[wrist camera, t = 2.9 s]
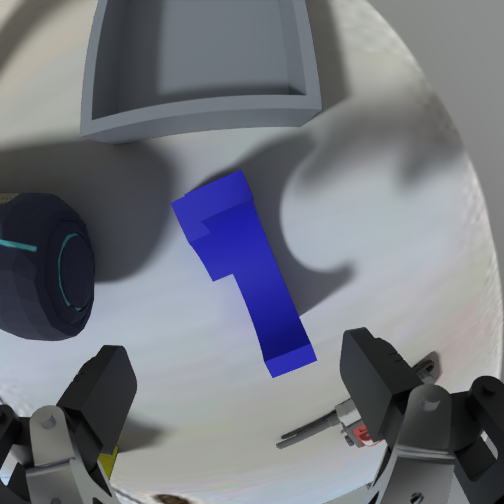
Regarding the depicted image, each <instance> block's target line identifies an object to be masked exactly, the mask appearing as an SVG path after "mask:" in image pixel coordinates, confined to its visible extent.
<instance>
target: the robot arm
mask: <svg viewBox="0 0 504 504" xmlns="http://www.w3.org/2000/svg"><path fill="white" fill-rule="evenodd" d="M340 374H341V378H342V380H343V382H344V384H345V386H346V388H347V390H348V392H349V394H350V396H351V398H352V400H353V402H354V404H355V406H356V408H357V410H358V412H359V414H360V416H361V418H362V420H363V422H364V424H365V426H366V428H367V431H368V433H369V435H370V437H371V439H372V441H373V443H375V442H378V441H381V440H384V439H385V440H386V442H387V444H388V445H387V447H386V449H385V452H384V454H383V457H382V460H381V463H380V465H379V468H378V470H377V473H376V475H375V478H374V480H373V482H372V485H371V487H370V489H369V491H368V493H367V495H366V497H365V499H364V500H363V502H362V504H447V501H448V497H449V493H450V488H451V483H452V478H453V472H454V473H455V475H456V477H457V479H458V481H459V483H460V485H461V487H462V489H463V491H464V493H465V495H466V497H467V499H468V501H469V503H470V504H504V384H503V383H502V382H501V381H500V380H499V379H497V378H495V377H492V376H481V377H478V378H477V379H475V380H474V382H473V384H472V386H471V388H470V390H469V391H464V392H459V393H452V394H449V392H448V391H447V390H446V389H444V388H443V387H441V386H438V385H434V384H424V383H423V381H422V380H421V379H420V378H419V377H418V375H417V374H416V373H415V372H414V371H413V369H412V368H411V367H410V366H409V365H408V364H407V362H406V361H405V360H403V358H402V357H401V355H400V354H398V353H397V351H396V350H395V348H394V347H393V346H392V345H391V344H390V343H388V342H387V341H385V340H383V339H381V338H374V337H373V335H372V334H371V333H370V332H369V331H368V329H367V328H365V327H362V328H357V329H351V330H346V331H345V332H344V334H343V342H342V350H341V358H340ZM136 391H137V380H136V376H135V374H134V371H133V369H132V366H131V363H130V360H129V358H128V355H127V352H126V350H125V348H124V347H123V346H116V345H104V346H103V347H102V348H101V349H100V351H99V352H98V354H97V355H96V356H95V357H93V358H91V359H90V360H89V361H87V362H86V363H85V364H84V365H83V366H82V367H81V369H80V370H79V372H78V374H77V375H76V376H75V377H74V379H73V381H72V382H71V383H70V385H69V386H68V388H67V389H66V391H65V392H64V394H63V395H62V397H61V398H60V400H59V401H58V403H57V404H56V406H54V405H47V406H43V407H41V408H39V409H37V410H36V411H35V412H34V413H33V414H32V416H31V417H18V416H17V415H16V414H15V412H14V411H13V409H12V408H11V407H10V406H8V405H4V404H3V405H0V469H1V467H2V465H3V463H4V461H5V459H6V457H7V455H8V453H9V452H10V453H11V454H12V455H13V457H14V458H15V459H16V460H17V461H18V462H17V464H16V467H15V469H14V471H13V473H12V475H11V478H10V480H9V482H8V485H7V486H6V485H4V484H3V482H2V481H1V479H0V504H121V503H120V502H119V500H118V498H117V496H116V494H115V492H114V490H113V488H112V486H111V484H110V482H109V480H108V478H107V476H106V474H105V472H104V469H103V467H102V465H101V463H100V461H99V460H98V457H99V454H100V453H101V454H106V455H110V456H112V455H113V452H114V449H115V446H116V444H117V441H118V438H119V435H120V433H121V430H122V427H123V425H124V422H125V420H126V417H127V414H128V412H129V409H130V407H131V404H132V402H133V399H134V397H135V394H136ZM483 431H485V432H486V434H487V435H488V437H489V438H490V439H491V441H492V442H493V444H494V445H495V447H496V448H497V451H498V458H497V460H496V458H495V457H494V455H493V454H492V452H491V451H490V449H489V448H488V446H487V445H486V443H485V442H484V440H483V439H482V437H481V434H482V433H483Z"/></svg>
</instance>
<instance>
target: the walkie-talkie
mask: <svg viewBox="0 0 504 504" xmlns="http://www.w3.org/2000/svg"><path fill="white" fill-rule="evenodd" d="M433 368H434V362H432V360H428V361H426V362H424V363H423V364H422V365H418V366H416V367H415V368H413V371H414V372H415V373H416V374H417V375H418V377H419V378H420V379H421V380H422V381H423V383H424V384H434V380H433V377H432V376H431V375H430V374H429V372H430V371H431V370H432V369H433ZM335 409H336V411H337V412H336V413H335V414H333V415H331V416H329V417H328V418H327V419H326V420H324V421H322V422H320V423H318V424H316V425H314V426H312V427H310V428H308V429H306V430H304V431H301V432H299V433H297V435H296V436H294V437H292V438H289V439H287V440H285V441H282V442H280V443H278V444H276V446H277V448H279V449H282V448H285V447H287V446H290V445H292V444H294V443H297V442H299V441H301V440H303V439H306V438H308V437H310V436H312V435H314V434H316V433H318V432H320V431H322V430H324V429H326V428H328V427H330V426H335V425H337V426H338V427H341V426H343V428H344V430H342V431H341V433H342V435H343V436H344V437H345V439H346V441H347V443H348V444H349V446H353V445H354V443H355V444H356V446H357V447H358V448H359V447H363V446H365V445H366V446H374V445H376V444H377V443H379V442H381V441H382V440H381V441H378V442H375V443H373V441H372V439H371V437H370V435H369V433H368V431H367V428H366V426H365V424H364V422H363V420H362V418H361V416H360V414H359V412H358V410H357V408H356V406H355V404H354V402H353V400H352V398H351V399H350V400H348V401H346V402H344V403H343V404H339V405H338V406H336V407H335Z"/></svg>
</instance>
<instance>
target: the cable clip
mask: <svg viewBox="0 0 504 504" xmlns="http://www.w3.org/2000/svg"><path fill="white" fill-rule="evenodd" d="M171 205H172V207H173V210H174V212H175V214H176V216H177V219H178V221H179V223H180V225H181V227H182V230H183V232H184V234H185V236H186V238H187V240H188V242H189V244H190V245H191V246H192V247H193V249H194V250H195V251H196V253H197V254H198V256H199V257H200V259H201V261H202V262H203V264H204V266H205V267H206V269H207V271H208V273H209V275H210V277H211V279H212V281H216V280H218V279H221V278H223V277H225V276H228V275H230V274H233V275H234V277H235V279H236V282H237V284H238V286H239V288H240V291H241V293H242V296H243V298H244V300H245V303H246V306H247V308H248V311H249V313H250V316H251V319H252V322H253V324H254V327H255V330H256V333H257V336H258V340H259V343H260V346H261V350H262V354H263V359H264V362H265V364H266V366H267V368H268V370H269V372H270V374H271V376H272V378H274V377H277V376H279V375H282V374H285V373H287V372H290V371H293V370H295V369H298V368H300V367H303V366H305V365H307V364H310V363H312V362H315V361H317V358H316V356H315V353H314V350H313V348H312V345H311V342H310V340H309V338H308V336H307V334H306V332H305V329H304V327H303V325H302V323H301V320H300V318H299V316H298V314H297V311H296V309H295V307H294V304H293V302H292V300H291V297H290V295H289V292H288V290H287V288H286V285H285V283H284V281H283V278H282V276H281V273H280V271H279V268H278V266H277V264H276V261H275V259H274V256H273V254H272V251H271V249H270V246H269V244H268V241H267V239H266V236H265V233H264V231H263V228H262V226H261V223H260V220H259V218H258V215H257V212H256V209H255V206H254V202H253V196H252V193H251V191H250V189H249V186H248V184H247V182H246V179H245V177H244V174H243V172H242V170H240V171H237V172H235V173H232V174H230V175H228V176H225V177H223V178H221V179H218V180H216V181H214V182H211V183H209V184H207V185H205V186H202V187H200V188H198V189H196V190H194V191H191V192H189V193H187V194H185V197H183V198H180V199H178V200H176V201H174V202H172V203H171Z"/></svg>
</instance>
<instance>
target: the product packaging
mask: <svg viewBox="0 0 504 504" xmlns="http://www.w3.org/2000/svg"><path fill="white" fill-rule="evenodd" d="M369 489H370V486H368V485H364V486H362V487H360V488H358V489H356V490H354V491H351V492H349V493H347V494H345V495H343V496H340V497H338V498H336V499H333V500H331V501H328V502H326V503H323V504H362V502H363V500H364V499H365V497H366V495H367V493H368V491H369Z"/></svg>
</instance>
